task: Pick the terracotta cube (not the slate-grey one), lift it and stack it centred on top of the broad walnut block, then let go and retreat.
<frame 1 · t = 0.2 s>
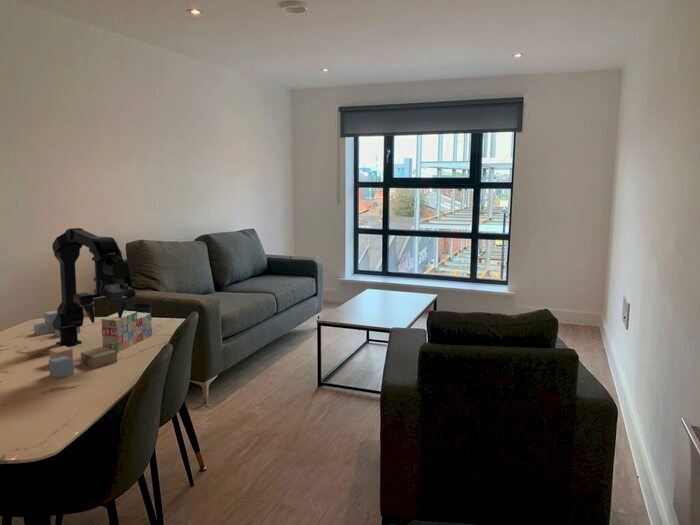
hand: (106, 320, 175), 14 cm above the table, tool pointing down, fingers open, 9 cm apart
slate cube: (62, 374, 164), on the table
walnut base block: (99, 363, 175), on the table
stack of blocks: (128, 343, 196), on the table
puzzle cube: (57, 334, 205), on the table
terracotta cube: (61, 363, 174), on the table
pen holder: (140, 329, 213), on the table
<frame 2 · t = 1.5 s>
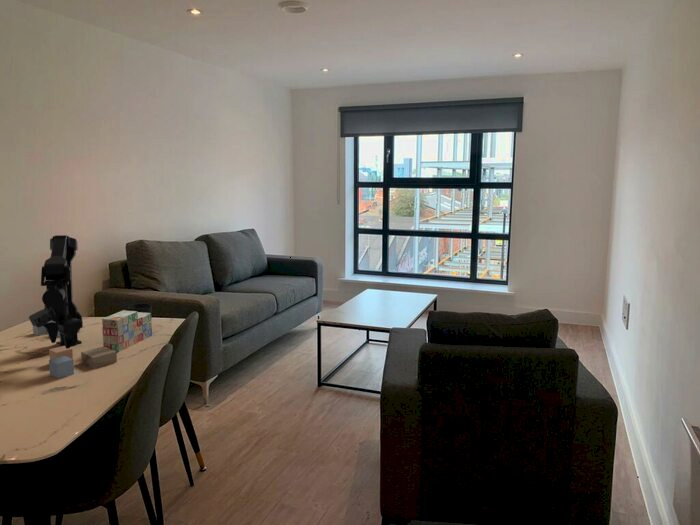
hand: (60, 345, 173), 6 cm above the table, tool pointing down, fingers open, 9 cm apart
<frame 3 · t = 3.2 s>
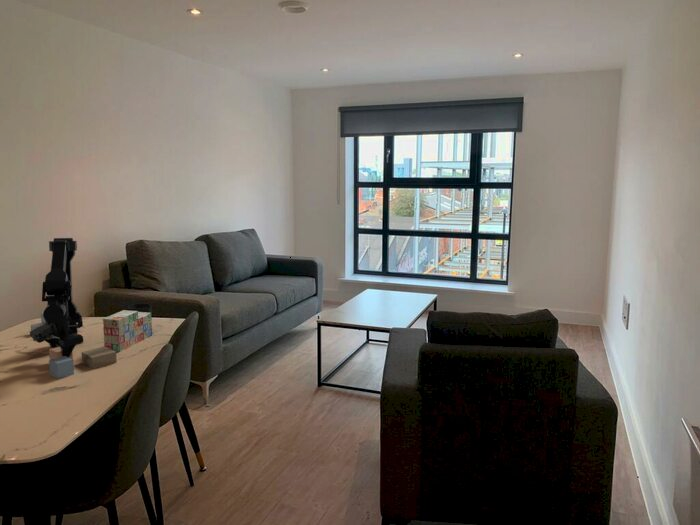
hand: (61, 360, 173), 1 cm above the table, tool pointing down, fingers closed on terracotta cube, 5 cm apart
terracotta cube: (61, 363, 174), on the table, touching gripper
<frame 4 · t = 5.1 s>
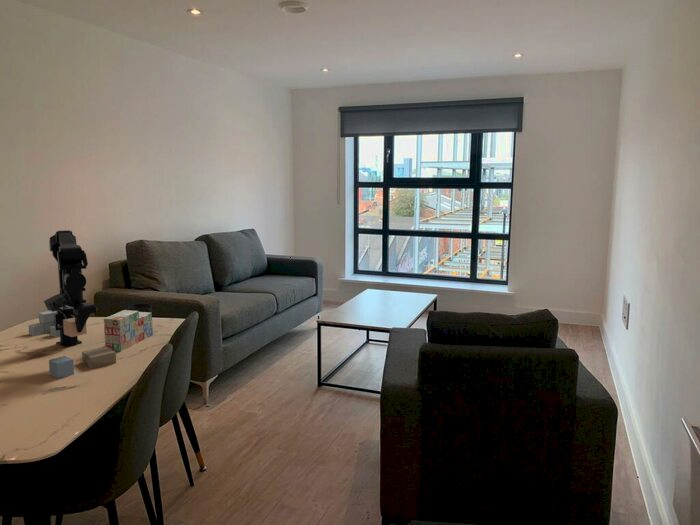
hand: (75, 330, 172), 11 cm above the table, tool pointing down, fingers closed on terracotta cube, 5 cm apart
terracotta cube: (75, 334, 172), point 10 cm above the table, touching gripper
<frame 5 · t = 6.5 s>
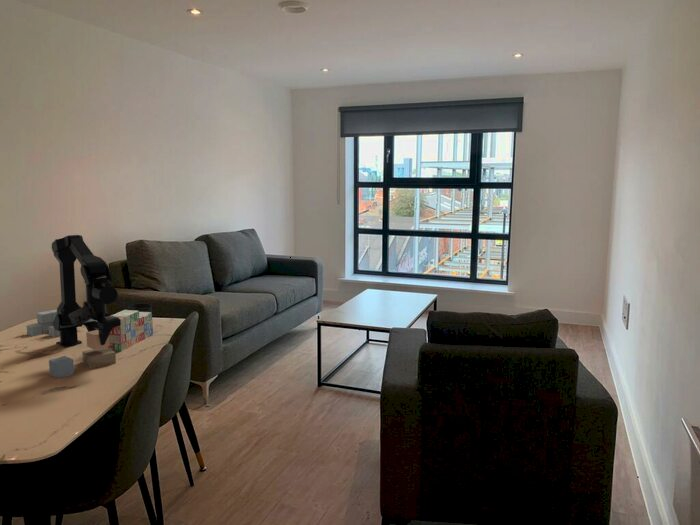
hand: (98, 343, 174), 7 cm above the table, tool pointing down, fingers closed on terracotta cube, 5 cm apart
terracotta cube: (98, 346, 174), point 6 cm above the table, touching gripper
when the fingers open (6 cm above the table, at t = 7.3 s): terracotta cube drops 2 cm, point 4 cm above the table.
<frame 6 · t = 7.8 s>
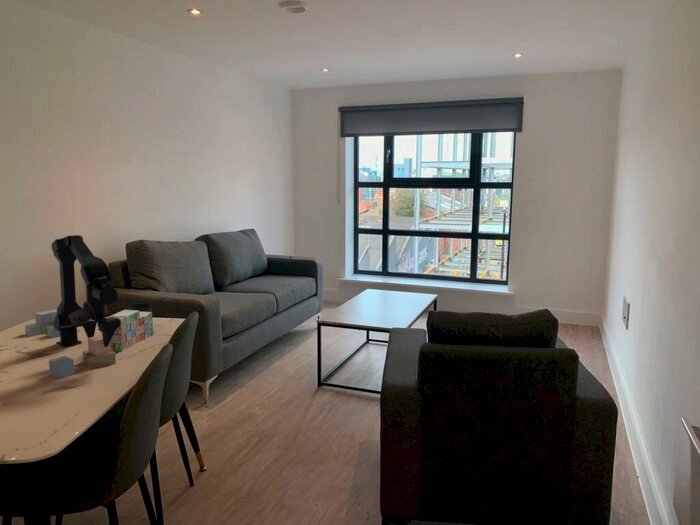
hand: (98, 343, 174), 6 cm above the table, tool pointing down, fingers open, 9 cm apart
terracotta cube: (99, 352, 175), point 4 cm above the table
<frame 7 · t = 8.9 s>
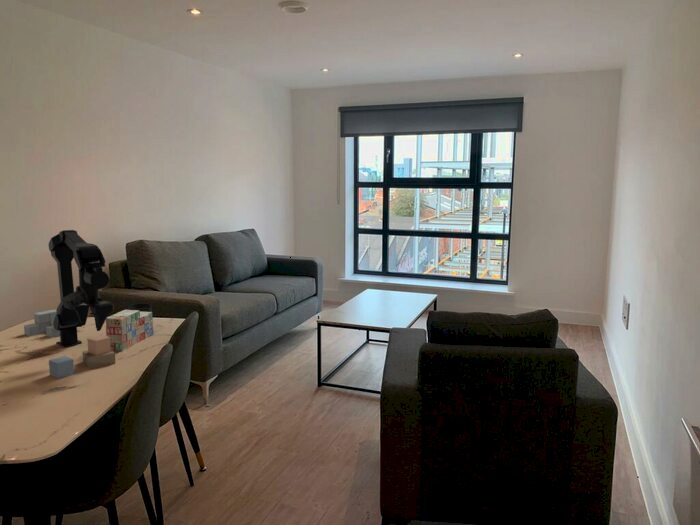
hand: (90, 328, 175), 12 cm above the table, tool pointing down, fingers open, 9 cm apart
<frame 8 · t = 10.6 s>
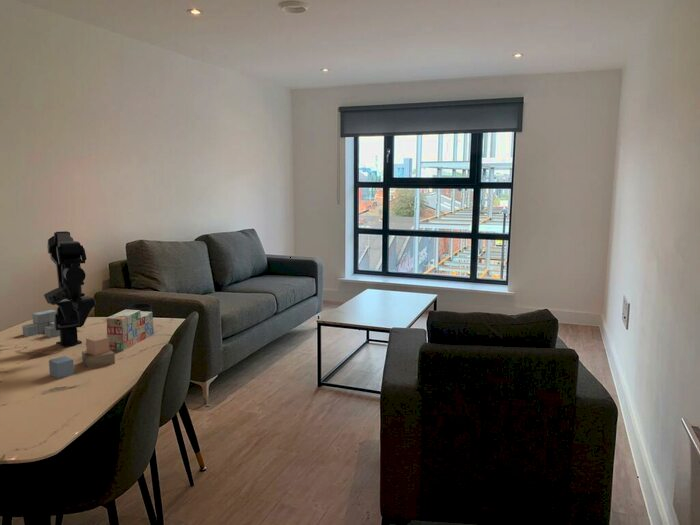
hand: (74, 323, 178), 12 cm above the table, tool pointing down, fingers open, 9 cm apart
walnut base block: (98, 363, 175), on the table, touching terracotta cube
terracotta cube: (98, 352, 175), point 4 cm above the table, touching walnut base block
at the end: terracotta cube 0.1 cm off-centre on the walnut base block, point 4.0 cm above the walnut base block's base; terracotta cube tilted 0°; the gripper is holding nothing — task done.
